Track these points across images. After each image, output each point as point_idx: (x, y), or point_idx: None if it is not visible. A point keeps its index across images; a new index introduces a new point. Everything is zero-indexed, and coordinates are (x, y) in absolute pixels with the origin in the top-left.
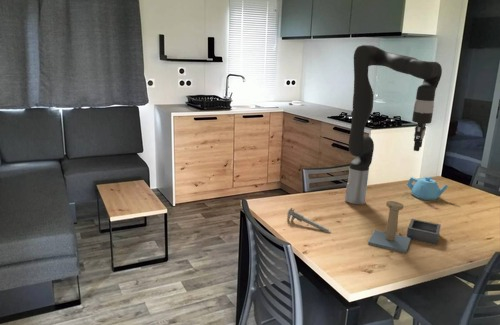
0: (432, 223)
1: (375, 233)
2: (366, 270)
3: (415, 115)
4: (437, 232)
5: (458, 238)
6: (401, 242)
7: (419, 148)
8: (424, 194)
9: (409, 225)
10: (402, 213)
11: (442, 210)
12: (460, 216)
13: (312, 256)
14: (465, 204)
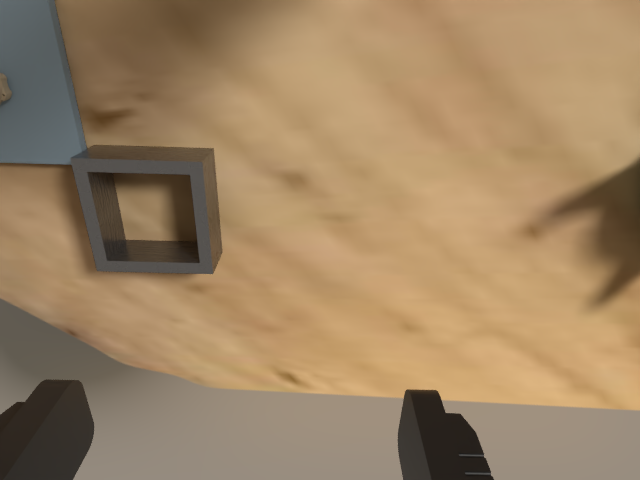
0: (203, 245)
1: (5, 7)
2: None
3: None
4: (116, 265)
5: (230, 306)
6: (7, 134)
7: (61, 476)
8: None
9: (107, 161)
10: (391, 95)
11: (513, 255)
12: (465, 313)
13: None
14: (626, 329)
